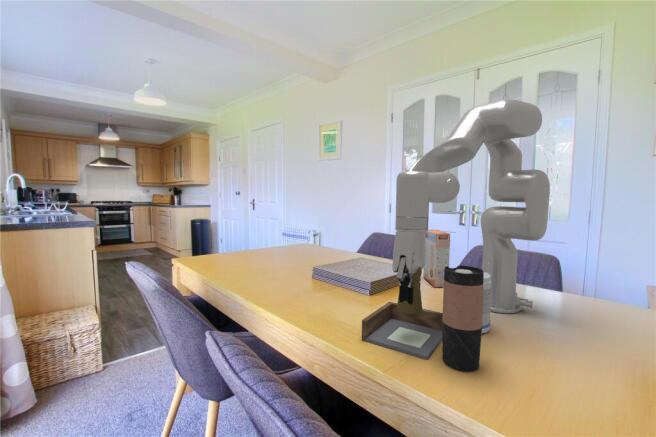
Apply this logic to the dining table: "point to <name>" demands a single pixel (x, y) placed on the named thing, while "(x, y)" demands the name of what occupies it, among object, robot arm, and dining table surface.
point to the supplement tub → (486, 303)
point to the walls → (399, 318)
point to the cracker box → (436, 256)
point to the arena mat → (407, 338)
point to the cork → (417, 301)
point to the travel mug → (462, 317)
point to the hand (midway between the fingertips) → (409, 299)
